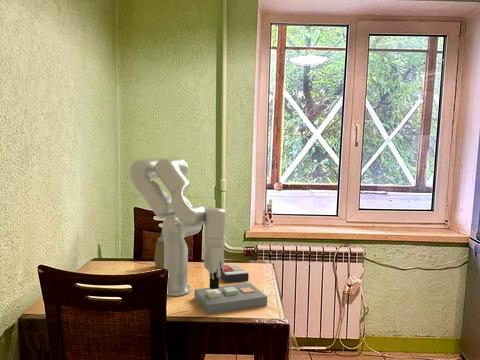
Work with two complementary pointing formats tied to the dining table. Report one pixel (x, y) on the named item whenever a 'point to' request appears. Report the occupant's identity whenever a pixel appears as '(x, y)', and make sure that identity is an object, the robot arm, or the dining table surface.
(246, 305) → the keypad
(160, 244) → the squeeze bottle
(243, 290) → the key terracotta
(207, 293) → the key ivory
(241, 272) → the button control box
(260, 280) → the dining table surface
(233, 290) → the key sage
